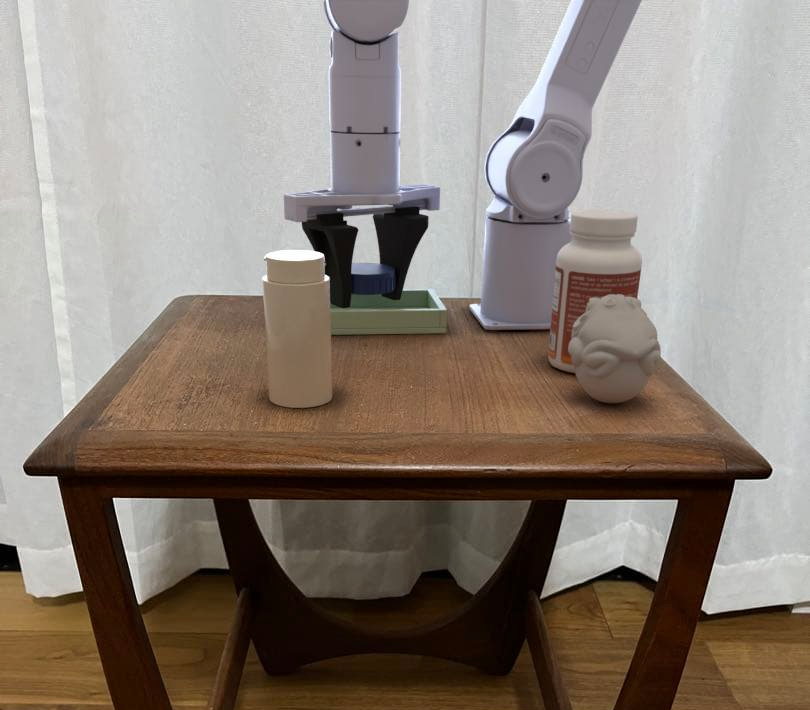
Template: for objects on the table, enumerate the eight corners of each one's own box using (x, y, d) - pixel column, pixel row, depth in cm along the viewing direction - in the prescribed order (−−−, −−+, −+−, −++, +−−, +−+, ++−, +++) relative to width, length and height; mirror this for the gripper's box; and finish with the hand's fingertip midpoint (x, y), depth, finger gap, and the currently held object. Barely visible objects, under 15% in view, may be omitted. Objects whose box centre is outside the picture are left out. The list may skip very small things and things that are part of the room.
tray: (432, 310, 82) (433, 288, 81) (446, 333, 75) (447, 310, 74) (291, 312, 81) (290, 290, 80) (291, 335, 74) (290, 311, 73)
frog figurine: (629, 382, 64) (643, 285, 61) (671, 415, 58) (689, 309, 54) (549, 385, 63) (559, 286, 60) (583, 419, 57) (596, 311, 54)
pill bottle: (645, 369, 67) (668, 216, 61) (586, 382, 64) (605, 222, 58) (588, 350, 71) (604, 205, 66) (530, 361, 68) (543, 210, 63)
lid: (327, 284, 78) (327, 265, 77) (380, 280, 80) (380, 260, 79) (349, 297, 74) (349, 276, 73) (404, 292, 76) (405, 272, 75)
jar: (330, 386, 62) (326, 248, 57) (334, 407, 58) (331, 261, 54) (268, 388, 61) (260, 249, 57) (269, 409, 57) (260, 262, 53)
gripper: (314, 137, 64) (319, 322, 70) (465, 133, 72) (458, 300, 78) (267, 131, 69) (276, 305, 75) (413, 128, 77) (410, 286, 83)
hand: (365, 302), depth 77 cm, fingers closed on lid, 5 cm apart
